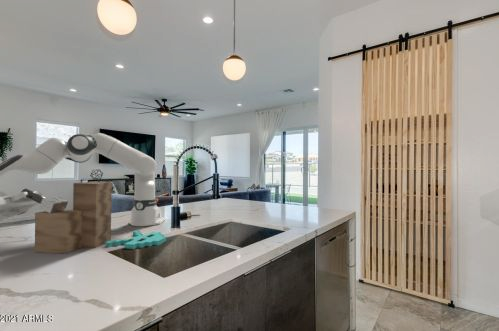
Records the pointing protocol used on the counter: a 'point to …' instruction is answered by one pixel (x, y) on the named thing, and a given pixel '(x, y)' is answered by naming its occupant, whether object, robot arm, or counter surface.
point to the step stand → (77, 221)
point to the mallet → (47, 202)
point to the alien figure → (139, 240)
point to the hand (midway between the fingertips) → (31, 192)
